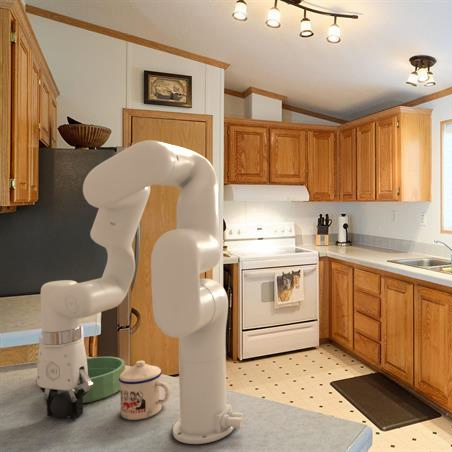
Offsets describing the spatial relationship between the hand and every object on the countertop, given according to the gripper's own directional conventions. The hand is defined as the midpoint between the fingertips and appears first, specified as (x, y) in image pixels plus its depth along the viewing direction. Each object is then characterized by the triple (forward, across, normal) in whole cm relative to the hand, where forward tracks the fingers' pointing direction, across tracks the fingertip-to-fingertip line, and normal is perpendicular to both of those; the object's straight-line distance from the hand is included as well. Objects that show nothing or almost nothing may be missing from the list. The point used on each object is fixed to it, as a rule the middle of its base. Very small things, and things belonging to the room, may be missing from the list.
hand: (65, 414), depth 97 cm
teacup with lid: (+1, +17, +6) cm, 18 cm away
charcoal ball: (+1, 0, 0) cm, 1 cm away
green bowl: (0, -6, +13) cm, 14 cm away
